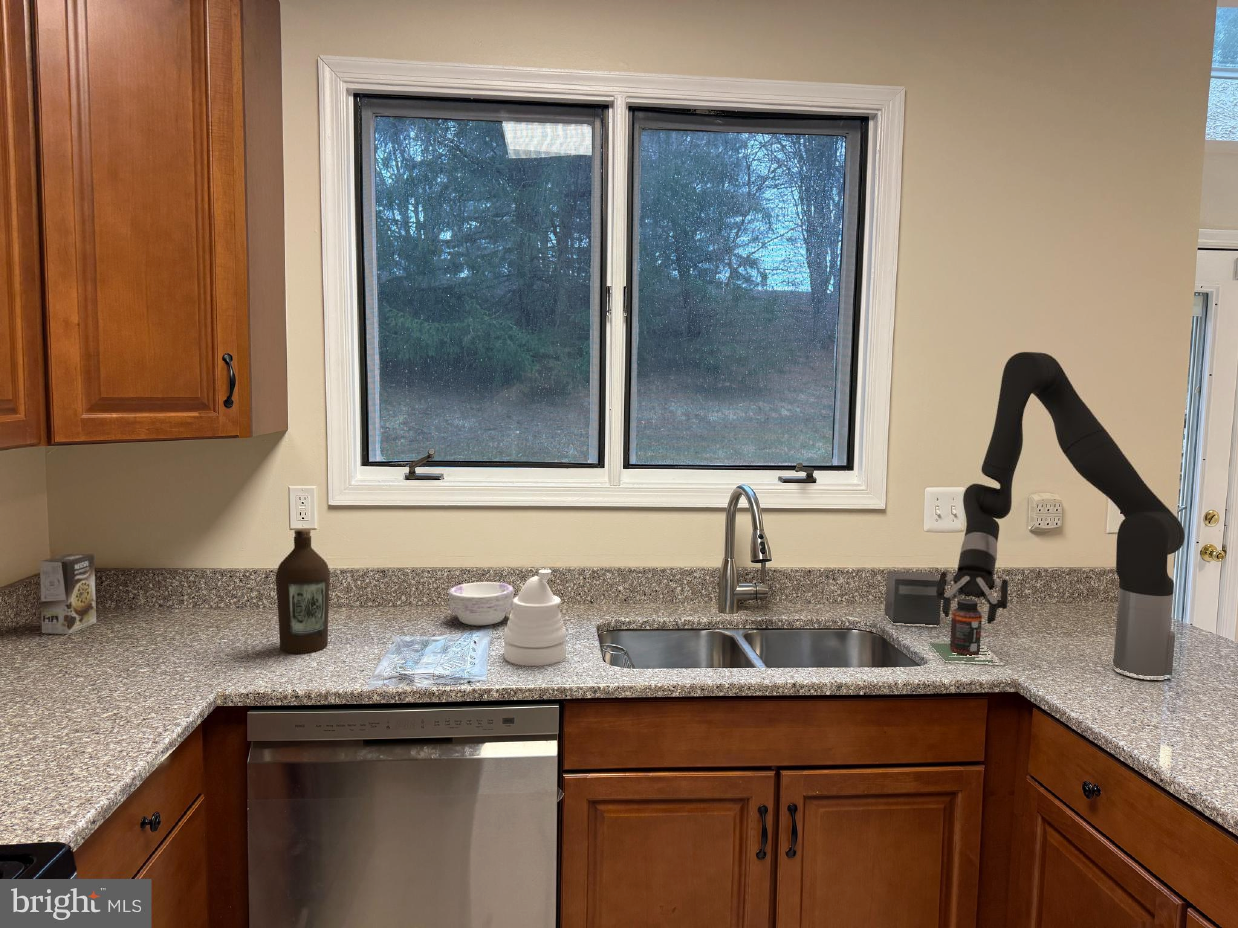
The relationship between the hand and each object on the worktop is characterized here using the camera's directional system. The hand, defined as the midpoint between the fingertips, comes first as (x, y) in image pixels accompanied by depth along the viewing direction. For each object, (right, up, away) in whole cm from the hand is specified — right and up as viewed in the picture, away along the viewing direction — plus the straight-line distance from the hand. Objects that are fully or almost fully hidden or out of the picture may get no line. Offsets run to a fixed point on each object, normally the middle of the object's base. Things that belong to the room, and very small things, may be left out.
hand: (967, 618), depth 173 cm
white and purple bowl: (-108, -4, +19) cm, 110 cm away
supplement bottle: (0, -7, 0) cm, 8 cm away
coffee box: (-198, -4, +7) cm, 198 cm away
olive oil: (-142, -6, -3) cm, 142 cm away
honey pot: (-93, -7, -5) cm, 93 cm away
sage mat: (0, -8, 0) cm, 8 cm away
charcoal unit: (-3, -6, +26) cm, 27 cm away
